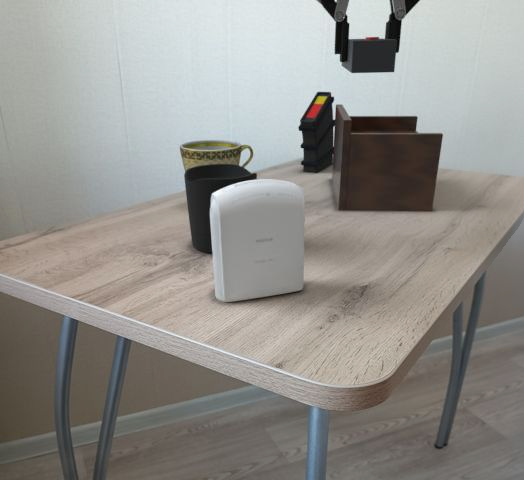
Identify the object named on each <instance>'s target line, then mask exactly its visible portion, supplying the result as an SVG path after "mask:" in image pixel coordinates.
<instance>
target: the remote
mask: <svg viewBox="0 0 524 480" xmlns="http://www.w3.org/2000/svg"><path fill="white" fill-rule="evenodd" d="M396 46H397V40H396V39H385V38H380V37H379V36H366V37H365V38H349V40H348V57H347V61H346V62H341V67H343V68H344V69H345V70H347V71H348V72H350V73H351V74H370V73H371V74H372V73H373V74H374V73H395V70H396V69H395V67H396V58H397V53H396Z"/></svg>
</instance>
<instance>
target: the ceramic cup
mask: <svg viewBox="0 0 524 480" xmlns="http://www.w3.org/2000/svg"><path fill="white" fill-rule="evenodd" d="M246 149H248V150H249V152H250V155H249V157H248V159H247V160H246V161H245V162H244V163H243V164H242V165H241V166H242V167H243V168H245V169H246V167H247V166H248V165H249V164H250V162H251V161H252V159H253V157H254V150H253V148H252V146H250V145H248V144H242V143H241V142H238V141H234V140H227V139H202V140H191V141H187V142H184V143H181V144H179V153H180V157H181V161H182V166H183V169H184V173H185V172H186V170H187V169H189V168H192V167H196V166H202V165H211V164H234V165H239V166H240V163H241V156H242V152H243V151H244V150H246Z"/></svg>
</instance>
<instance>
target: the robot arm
mask: <svg viewBox="0 0 524 480" xmlns="http://www.w3.org/2000/svg"><path fill="white" fill-rule="evenodd" d="M315 1H316V2H317V3H318V4H319V5H321V6H322V8H323V9H324V10H325V11H326V13H328V15H329V16H330V17H331V18H332V19H333V21H334V22H335V29H334V55H339V62H340V63H342V62H346V61H347V57H348V40H349V39H350V22H349V21H348V14H347V11H348V7H349V3H350V0H315ZM388 1H389V2H388V3H389V9H390V14H389V15H388V20H387V21H386V22H385V30H384V31H385V33H384V39H396V40H397V46H396V54H397V53H400V45H401V33H402V21H403V20H404V19H405V18H406V16H407V15H408V14H409V13H410V12H411V11H412V9H414V7H416V5H417V4H418V3H419V2H420V1H421V0H388Z"/></svg>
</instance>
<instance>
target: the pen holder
mask: <svg viewBox="0 0 524 480" xmlns="http://www.w3.org/2000/svg"><path fill="white" fill-rule="evenodd" d="M242 166H243V165H240V164H239V165H234V164H211V165H202V166H196V167H192V168H189V169H187V170H186V172H185V171H184V176H183V177H184V187H185V194H186V204H187V211H188V212H187V213H188V221H189V229H190V236H191V244H192V247H193V248H195V250H197V251H199V252H200V253H204V254H208V255H209V254H210V255H213V254H212V240H211V225H210V207H211V195H212V193H214V192H216V191H218V190H220V189H222V188H224V187H227V186H229V185H232V184H235V183H239V182H243V181H248V180H257V179H258V173H257V172H250V171H249V170H248V169H247V168H246V167H245V168H243V167H242Z"/></svg>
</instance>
